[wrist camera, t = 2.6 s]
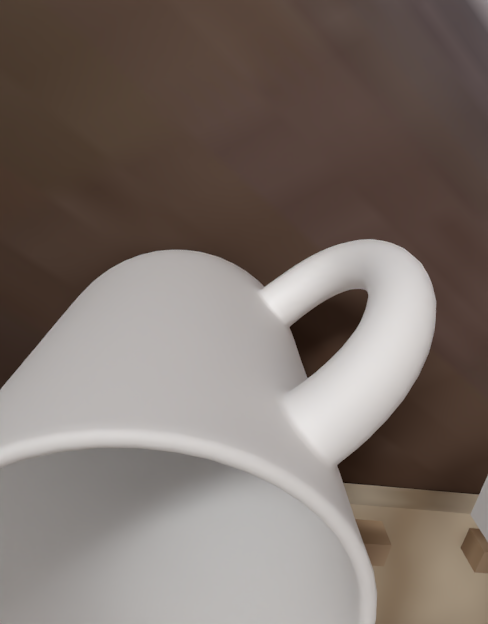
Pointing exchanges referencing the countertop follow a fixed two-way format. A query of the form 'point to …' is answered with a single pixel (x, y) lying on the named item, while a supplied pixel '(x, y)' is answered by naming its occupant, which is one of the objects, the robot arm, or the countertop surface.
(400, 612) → the board
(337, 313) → the countertop surface
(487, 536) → the robot arm
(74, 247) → the countertop surface
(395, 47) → the countertop surface
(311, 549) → the mug
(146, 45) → the countertop surface
